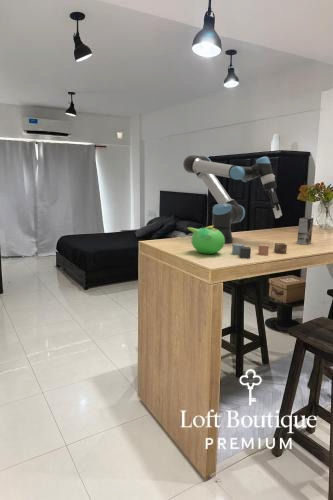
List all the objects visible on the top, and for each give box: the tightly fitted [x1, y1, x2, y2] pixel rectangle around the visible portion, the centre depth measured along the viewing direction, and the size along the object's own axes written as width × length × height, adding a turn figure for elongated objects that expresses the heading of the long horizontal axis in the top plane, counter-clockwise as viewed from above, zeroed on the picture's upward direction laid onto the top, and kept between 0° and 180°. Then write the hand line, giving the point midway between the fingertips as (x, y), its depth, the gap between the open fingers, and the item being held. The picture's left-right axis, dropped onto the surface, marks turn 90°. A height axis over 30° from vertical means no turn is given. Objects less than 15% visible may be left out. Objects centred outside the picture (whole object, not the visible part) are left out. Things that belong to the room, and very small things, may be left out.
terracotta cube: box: [257, 243, 270, 256], centre depth 185 cm, size 5×5×5 cm
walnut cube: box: [273, 242, 288, 255], centre depth 189 cm, size 5×5×5 cm
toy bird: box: [186, 225, 226, 255], centre depth 183 cm, size 18×17×15 cm
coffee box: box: [296, 217, 315, 246], centre depth 217 cm, size 9×6×16 cm
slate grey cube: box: [231, 243, 245, 256], centre depth 184 cm, size 5×5×5 cm
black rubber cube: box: [239, 246, 252, 259], centre depth 177 cm, size 5×5×5 cm
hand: (278, 217), depth 206 cm, fingers open, 13 cm apart
